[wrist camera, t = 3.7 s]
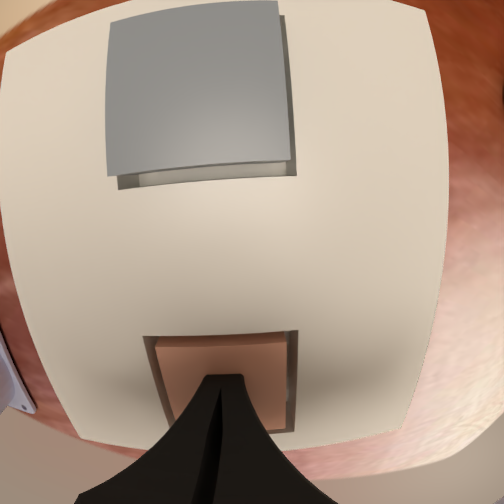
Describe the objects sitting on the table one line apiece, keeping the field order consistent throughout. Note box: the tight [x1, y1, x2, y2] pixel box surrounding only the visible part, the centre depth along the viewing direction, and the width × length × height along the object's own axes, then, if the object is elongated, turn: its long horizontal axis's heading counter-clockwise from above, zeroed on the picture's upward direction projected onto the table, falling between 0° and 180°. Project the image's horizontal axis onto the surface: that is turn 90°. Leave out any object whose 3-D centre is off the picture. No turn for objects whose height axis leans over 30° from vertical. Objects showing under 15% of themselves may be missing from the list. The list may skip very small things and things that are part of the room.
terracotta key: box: [155, 331, 287, 430], centre depth 11 cm, size 4×4×2 cm
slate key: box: [105, 0, 291, 177], centre depth 7 cm, size 4×4×2 cm
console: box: [0, 0, 449, 451], centre depth 10 cm, size 16×18×3 cm
